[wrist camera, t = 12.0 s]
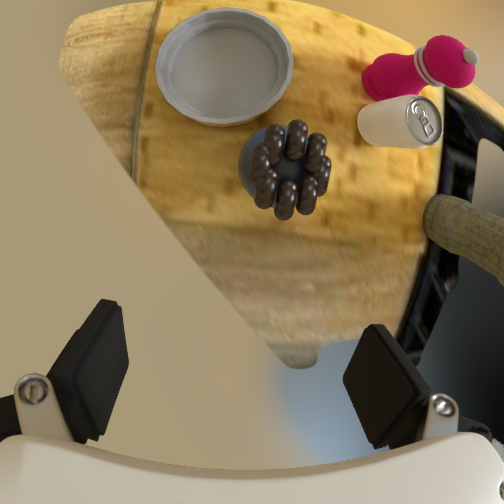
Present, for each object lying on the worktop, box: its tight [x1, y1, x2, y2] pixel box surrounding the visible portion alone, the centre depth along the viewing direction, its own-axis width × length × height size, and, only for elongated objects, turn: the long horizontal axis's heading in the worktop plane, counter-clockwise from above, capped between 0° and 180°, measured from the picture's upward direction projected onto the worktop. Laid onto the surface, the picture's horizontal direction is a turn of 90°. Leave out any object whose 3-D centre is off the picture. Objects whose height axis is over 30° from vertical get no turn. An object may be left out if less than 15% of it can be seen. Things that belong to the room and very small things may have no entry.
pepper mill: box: [362, 35, 479, 101], centre depth 21 cm, size 7×7×20 cm
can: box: [357, 95, 443, 149], centre depth 27 cm, size 6×6×12 cm
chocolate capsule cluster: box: [249, 119, 332, 221], centre depth 23 cm, size 9×7×2 cm
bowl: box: [155, 7, 294, 127], centre depth 27 cm, size 16×16×4 cm
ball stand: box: [238, 125, 309, 208], centre depth 29 cm, size 9×9×12 cm
